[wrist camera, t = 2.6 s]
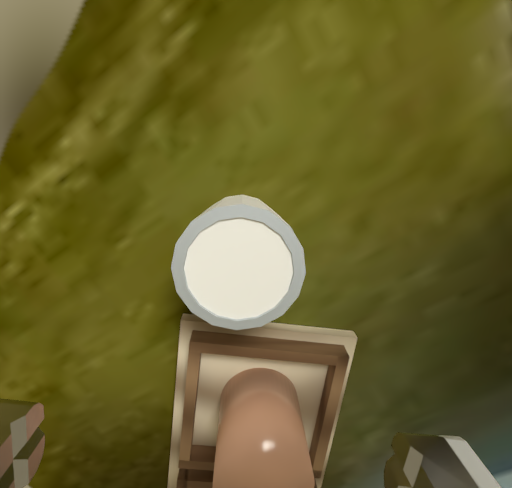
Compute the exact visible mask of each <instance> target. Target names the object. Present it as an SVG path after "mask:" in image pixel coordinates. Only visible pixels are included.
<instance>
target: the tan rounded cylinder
mask: <svg viewBox="0 0 512 488" xmlns="http://www.w3.org/2000/svg"><path fill="white" fill-rule="evenodd" d="M314 486H315V480H314V474H313V470H312V465H311V460H310V455H309V450H308V445H307V440H306V435H305V430H304V426H303V421H302V416H301V411H300V406H299V401H298V396H297V391H296V389H295V387H294V385H293V383H292V382H291V381H290V379H289V378H287V377H286V376H285V375H284V374H282V373H280V372H278V371H276V370H273V369H269V368H252V369H247V370H244V371H242V372H240V373H238V374H236V375H235V376H233V377H232V378H231V379H230V380H229V381H228V382H227V383H226V385H225V386H224V388H223V390H222V393H221V398H220V409H219V420H218V431H217V441H216V452H215V463H214V474H213V487H212V488H314Z"/></svg>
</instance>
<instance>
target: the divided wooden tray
mask: <svg viewBox="0 0 512 488" xmlns="http://www.w3.org/2000/svg"><path fill="white" fill-rule="evenodd" d="M356 343H357V336H356V334H355V333H354V331H349V330H339V329H329V328H320V327H310V326H300V325H291V324H281V323H271V322H269V323H267V324H265V325H263V326H262V327H256V328H249V329H242V330H233V329H228V328H223V327H219V326H214V325H211V324H209V323H208V322H206V321H205V320H203V319H202V318H200V317H198V316H197V315H194V314H184V313H183V315H182V318H181V324H180V336H179V349H178V361H177V374H176V386H175V399H174V411H173V424H172V436H171V449H170V461H169V474H168V486H167V488H212V487H213V474H214V463H215V452H216V441H217V431H218V420H219V409H220V398H221V393H222V390H223V388H224V386H225V385H226V383H227V382H228V381H229V380H230V379H231V378H232V377H233V376H235V375H236V374H238V373H240V372H242V371H244V370H247V369H252V368H269V369H273V370H276V371H278V372H280V373H282V374H284V375H285V376H286V377H287V378H289V379H290V381H291V382H292V383H293V385H294V387H295V389H296V391H297V396H298V401H299V406H300V411H301V416H302V421H303V426H304V430H305V435H306V440H307V445H308V450H309V455H310V460H311V465H312V470H313V474H314V480H315V486H314V488H321V486H322V482H323V478H324V473H325V469H326V465H327V461H328V457H329V453H330V449H331V445H332V441H333V437H334V433H335V428H336V424H337V420H338V416H339V412H340V408H341V404H342V400H343V396H344V392H345V388H346V383H347V379H348V375H349V371H350V367H351V363H352V359H353V355H354V351H355V347H356Z"/></svg>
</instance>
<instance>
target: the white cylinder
mask: <svg viewBox="0 0 512 488" xmlns="http://www.w3.org/2000/svg"><path fill="white" fill-rule="evenodd" d="M171 270H172V274H173V279H174V283H175V288H176V292H177V293H178V295H179V296H180V297H181V299H182V300H183V302H184V303H185V304H186V306H187V307H188V308H189V310H190V311H191V312H192V313H194V314H195V315H197V316H198V317H200V318H202V319H203V320H205V321H206V322H208V323H209V324H211V325H214V326H219V327H223V328H228V329H233V330H242V329H249V328H256V327H262V326H263V325H265V324H267V323H269V322H271V321H273V320H274V319H276V318H278V317H280V316H282V315H283V314H284V313H285V312H286V311H287V309H288V308H289V307H290V306H291V305H292V303H293V302H294V301H295V300H296V299H297V298H298V296H299V293H300V290H301V287H302V284H303V281H304V277H305V274H306V270H305V261H304V251H303V247H302V246H301V244H300V242H299V241H298V239H297V237H296V235H295V234H294V232H293V230H292V228H291V227H290V226H289V225H288V224H287V223H286V222H285V221H284V220H283V219H282V218H281V217H280V216H279V215H278V214H277V213H276V212H274V211H273V210H272V209H271V208H270V207H269V206H267V205H266V204H265V203H263V202H262V201H261V200H259V199H258V198H254V197H250V196H246V195H237V196H230V197H225V198H224V199H222V200H220V201H219V202H217V203H215V204H214V205H212V206H211V207H210V208H208V209H207V210H206V211H204V212H203V213H202V214H201V215H199V216H198V217H197V218H195V219H194V220H193V221H192V222H191V223H190V224H189V226H188V227H187V228H186V230H185V231H184V233H183V234H182V235H181V237H180V238H179V240H178V241H177V242H176V245H175V250H174V255H173V260H172V265H171Z"/></svg>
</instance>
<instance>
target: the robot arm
mask: <svg viewBox="0 0 512 488" xmlns="http://www.w3.org/2000/svg"><path fill="white" fill-rule="evenodd" d="M43 419H44V409H43V405H42V404H40V403H36V402H27V401H18V400H9V399H0V488H23V487H24V486H26V485H28V484H29V483H30V481H31V479H32V478H33V476H34V474H35V473H36V471H37V469H38V466H39V464H40V461H41V458H42V456H43V451H44V445H45V434H44V433H43V432H42V431H41V430H40V428H39V427H38V426H39V424H40V423H41V422H42V420H43ZM391 446H392V448H393V450H394V452H395V454H394V455H393V456H392V457H390V458H389V459H388V460H387V462H386V466H385V470H384V486H385V488H501V486H500V485H499V484H498V482H497V481H496V480H495V478H494V477H493V476H492V474H491V473H490V472H489V471H488V469H487V468H486V467H485V465H484V464H483V463H482V461H481V460H480V459H479V457H478V456H477V455H476V454H475V452H474V451H473V450H472V448H471V447H470V446H469V444H468V443H467V442H466V441H465V440H464V439H462V438H461V437H460V436H446V435H438V436H437V435H427V434H414V433H400V432H398V433H397V434H396V435H395V436H394V438H393V441H392V445H391Z"/></svg>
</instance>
